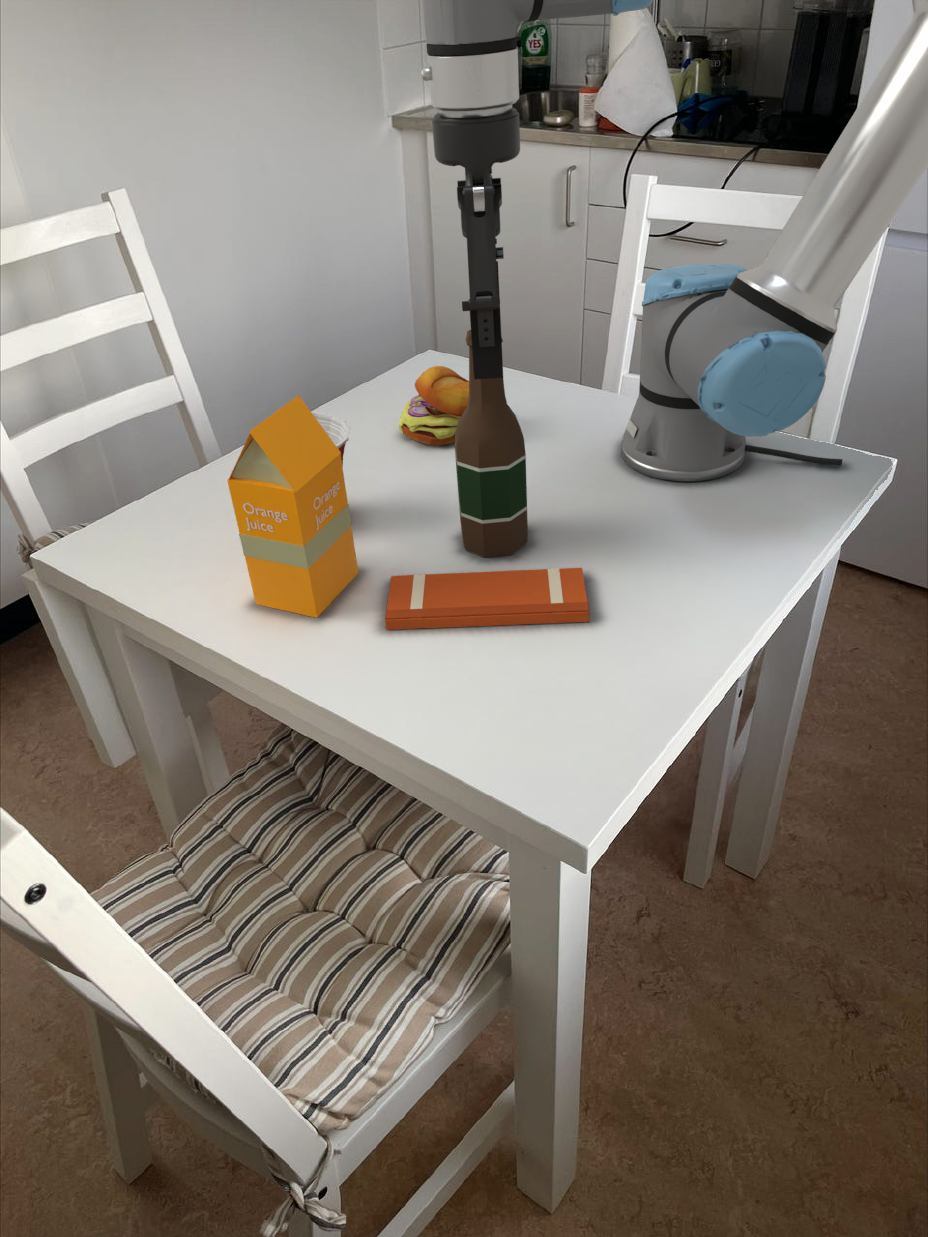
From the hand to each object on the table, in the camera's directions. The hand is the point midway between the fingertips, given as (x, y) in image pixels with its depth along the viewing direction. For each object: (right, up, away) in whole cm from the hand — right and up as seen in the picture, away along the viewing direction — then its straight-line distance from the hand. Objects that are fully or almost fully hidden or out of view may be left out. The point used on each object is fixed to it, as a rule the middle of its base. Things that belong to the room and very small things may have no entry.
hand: (488, 350), depth 93 cm
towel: (0, -25, +3) cm, 25 cm away
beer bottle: (+1, -18, +13) cm, 22 cm away
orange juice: (-19, -23, +7) cm, 31 cm away
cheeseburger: (-5, -1, +37) cm, 37 cm away
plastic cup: (-20, -15, +19) cm, 31 cm away
